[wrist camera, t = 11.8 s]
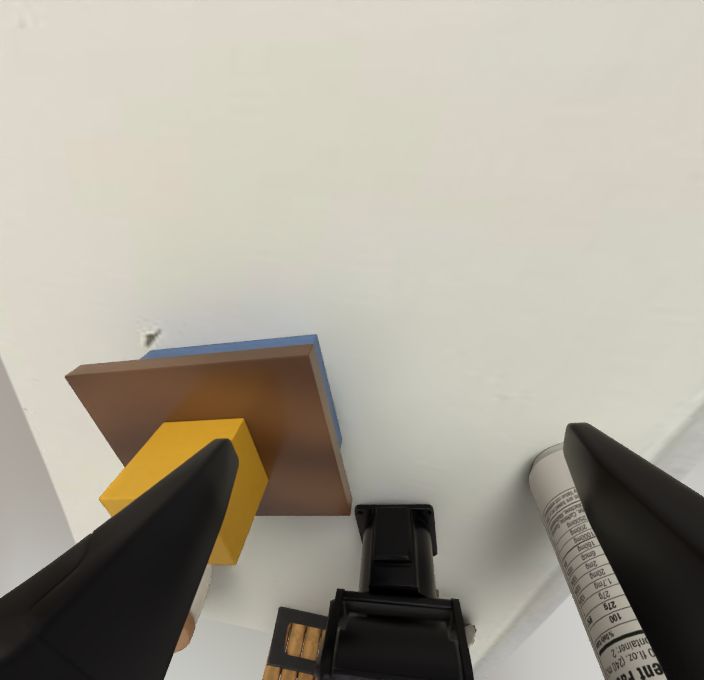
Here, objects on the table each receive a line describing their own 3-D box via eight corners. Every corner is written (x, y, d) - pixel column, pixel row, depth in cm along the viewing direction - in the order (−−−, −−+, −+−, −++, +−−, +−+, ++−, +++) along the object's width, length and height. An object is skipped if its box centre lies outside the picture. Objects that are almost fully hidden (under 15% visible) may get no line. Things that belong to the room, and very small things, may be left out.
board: (352, 499, 23) (350, 516, 22) (166, 501, 25) (156, 516, 24) (313, 342, 17) (308, 355, 16) (80, 364, 20) (63, 376, 19)
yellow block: (269, 480, 21) (236, 566, 17) (196, 481, 22) (146, 563, 18) (244, 417, 19) (198, 497, 14) (163, 421, 20) (96, 498, 15)
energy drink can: (543, 503, 27) (683, 840, 14) (509, 455, 25) (635, 795, 12) (628, 478, 25) (891, 851, 12) (599, 422, 23) (875, 797, 10)
